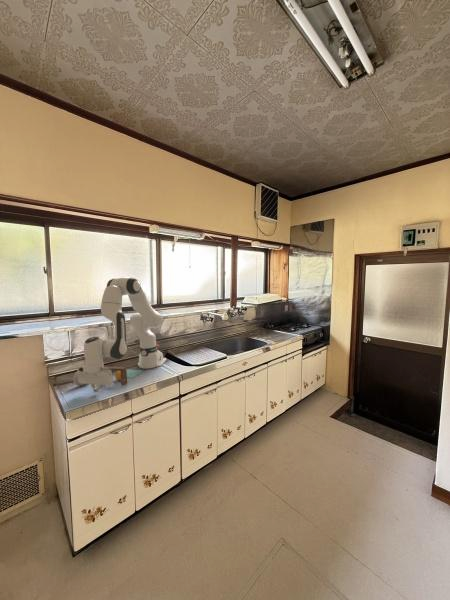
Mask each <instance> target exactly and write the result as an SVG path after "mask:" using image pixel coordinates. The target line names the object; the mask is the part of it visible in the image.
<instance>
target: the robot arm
mask: <svg viewBox="0 0 450 600" xmlns="http://www.w3.org/2000/svg"><path fill="white" fill-rule="evenodd" d="M104 288H105V289H104V291H103V293H102V296H101V297H102V298H101V303H100V305H101V306H100V312H101V315H102V316H103V317H104V318H106V320H109V321H111V322H112V323H113V324H114V340H113V339H112V340H111V339H104V338H101V337H99V336H92V337H88V338H87V339H85V341H84V343H83V355H84V358H85V360H84V361H85V362H84V364H83V365H80V366H78V367H77V371H79V372H78V382H79V383H81V384H85V385H90V387H91V388H92V391H93V393H99V392H101V386H107V387H108V386H110V385H112V384H113V383H114V377H113V373H112V372H113V371H112V370H110V369H109V368H104V367H105V366H104V358H112V359H116V360H120V359H122V358H123V357H124V356H125V355H126V354H127V353H128V343H127V329H126V328H127V327H126V324H127V323H126V316H125V314H124V313H123V309H122V306H123V305H122V304H123V296H128V298H129V301H130V304H131V307H132V309H133V310H134V311H135V313H133V314H131V316H130V318H129V324H130V325H131V327H133V328H134V330H135V331H136V333H137V335H138V337H139V355H138V363H137V366H138V367H139V368H140V369H153V368H158V367H161V366H162V365H163V364H165V362H166V361H167V358H166V357H164V354H163V352H162V351H160V350H159V349H158V348H160V345H159V344H157V340H156V339H157V338H156V337H157V336H156V334H155V333H154V332H152V331H151V329H157V328H160V327H161V328H162V325H163V324H164V317H163V315H162V314H161V313H159V312H157V311H156V310H155V309H154V308H153V307H152V305H151V304H150V301H149V299H148V297H147V294H146V291H145V289H144V288H143V286H142V284H141V282H140V280H139V279H138V278H136V277H119V278H112V279H109V280H108V282H107V284H106V287H104Z"/></svg>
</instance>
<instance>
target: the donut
mask: <svg viewBox="0 0 450 600" xmlns="http://www.w3.org/2000/svg"><path fill="white" fill-rule="evenodd" d="M78 372H79V371H78V370H77V371H76V372H75V373H74V374H73V377H72V381H73V384H74V385H76V386H78V387H81V386H85V385H86V384H81V383H79V382H78Z"/></svg>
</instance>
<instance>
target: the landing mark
mask: <svg viewBox="0 0 450 600" xmlns="http://www.w3.org/2000/svg"><path fill="white" fill-rule="evenodd" d="M144 372H145V370H140V369H139V370H138V369H127V379H134V378H136V377H138V376H139V375H140V374H142V373H144Z"/></svg>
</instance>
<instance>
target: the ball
mask: <svg viewBox="0 0 450 600" xmlns="http://www.w3.org/2000/svg"><path fill="white" fill-rule="evenodd" d="M114 378H115V379H116V381H117V380H118V381H121V372H120V371H115V374H114Z"/></svg>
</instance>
